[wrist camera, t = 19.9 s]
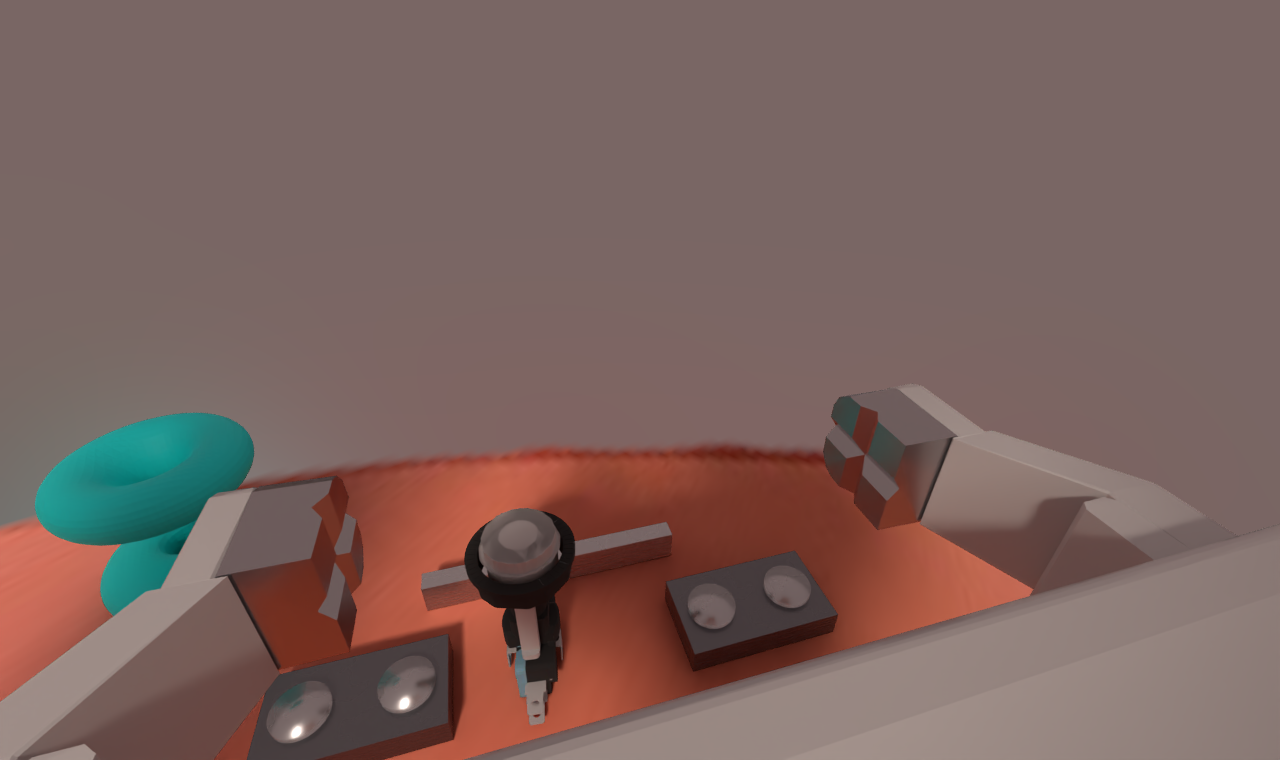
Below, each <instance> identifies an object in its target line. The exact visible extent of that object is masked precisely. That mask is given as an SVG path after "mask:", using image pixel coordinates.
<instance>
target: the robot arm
mask: <svg viewBox="0 0 1280 760" xmlns="http://www.w3.org/2000/svg"><path fill="white" fill-rule="evenodd" d="M831 417H832V419H833V421H834V423H835V424H836V426H835V427H834V428H833V429H832V430H831V432H830V433H829V434H828V435H827V436H826V441H825V445H824V450H823V453H824V459H825V464H826V468H827V470H828V472H829V474H830V476H831V477H832V478H833V480H834V481H835V482H836V483H837V484H838V486H840V487H842V488H844V489H846V490H848V491H850V492H852V493H854V504H855V505H856V506H857V507H858V509H859V510H860V511H861V512H862V513H863V514H864V515H865V516H866V518H867V519H868V520H869V521H870V522H871V523H872V524H873V526H874V527H875V528H876V529H877V530H880V529H885V528H890V527H895V526H900V525H905V524H910V523H915V522H920V521H921V522H920V524H921V525H922V526H924V527H926V528H928V529H929V530H931V531H933V532H935V533H936V534H938V535H940V536H942V537H943V538H945V539H947V540H949V541H950V542H952V543H954V544H956V545H957V546H959V547H961V548H963V549H964V550H966V551H968V552H969V553H971V554H973V555H975V556H976V557H978V558H980V559H982V560H983V561H985V562H987V563H989V564H990V565H992V566H994V567H996V568H997V569H999V570H1001V571H1003V572H1004V573H1006V574H1008V575H1010V576H1011V577H1013V578H1015V579H1017V580H1018V581H1020V582H1022V583H1023V584H1025V585H1027V586H1029V587H1030V588H1032V589H1033V591H1032V593H1031V595H1030V596H1029V597H1025V598H1022V599H1018V600H1015V601H1012V602H1008V603H1005V604H1001V605H998V606H994V607H991V608H987V609H984V610H980V611H977V612H973V613H970V614H967V615H963V616H960V617H956V618H953V619H949V620H946V621H942V622H939V623H935V624H932V625H928V626H925V627H922V628H918V629H915V630H911V631H908V632H904V633H901V634H897V635H894V636H890V637H887V638H884V639H880V640H877V641H873V642H870V643H866V644H863V645H859V646H856V647H852V648H849V649H846V650H842V651H839V652H835V653H832V654H828V655H825V656H821V657H818V658H814V659H811V660H808V661H804V662H801V663H797V664H794V665H790V666H787V667H783V668H780V669H776V670H773V671H770V672H766V673H763V674H759V675H756V676H752V677H749V678H745V679H742V680H738V681H735V682H732V683H728V684H725V685H721V686H718V687H714V688H711V689H707V690H704V691H700V692H697V693H693V694H690V695H686V696H683V697H680V698H676V699H673V700H669V701H666V702H662V703H659V704H655V705H652V706H648V707H645V708H641V709H638V710H634V711H631V712H627V713H624V714H620V715H617V716H614V717H610V718H607V719H603V720H600V721H596V722H593V723H589V724H586V725H582V726H579V727H575V728H572V729H568V730H565V731H561V732H558V733H554V734H551V735H548V736H544V737H541V738H537V739H534V740H530V741H527V742H523V743H520V744H516V745H513V746H509V747H506V748H502V749H499V750H495V751H492V752H488V753H485V754H482V755H478V756H475V757H471V758H468V759H464V760H1280V524H1278V525H1274V526H1271V527H1267V528H1264V529H1260V530H1257V531H1254V532H1250V533H1247V534H1243V535H1240V536H1237V535H1236V534H1234V533H1233V532H1231V531H1229V530H1228V529H1226V528H1225V527H1223V526H1222V525H1220V524H1218V523H1217V522H1215V521H1214V520H1212V519H1210V518H1209V517H1207V516H1205V515H1204V514H1202V513H1201V512H1199V511H1198V510H1196V509H1194V508H1193V507H1191V506H1190V505H1188V504H1186V503H1185V502H1183V501H1182V500H1180V499H1179V498H1177V497H1175V496H1174V495H1172V494H1171V493H1169V492H1168V491H1166V490H1164V489H1163V488H1161V487H1160V486H1158V485H1157V484H1155V483H1152V482H1149V481H1146V480H1143V479H1140V478H1137V477H1134V476H1131V475H1128V474H1124V473H1121V472H1118V471H1115V470H1112V469H1109V468H1106V467H1103V466H1100V465H1097V464H1094V463H1090V462H1087V461H1084V460H1081V459H1078V458H1075V457H1072V456H1069V455H1066V454H1063V453H1060V452H1057V451H1054V450H1051V449H1047V448H1044V447H1041V446H1038V445H1035V444H1032V443H1029V442H1026V441H1023V440H1020V439H1017V438H1014V437H1011V436H1007V435H1004V434H1001V433H998V432H995V431H988V432H985V431H983V430H982V429H981V428H979V427H978V426H977V425H975V424H974V423H972V422H971V421H969V420H968V419H967V418H966V417H964V416H963V415H961V414H960V413H959V412H957V411H956V410H954V409H953V408H952V407H950V406H949V405H948V404H946V403H945V402H943V401H942V400H941V399H939V398H938V397H936V396H935V395H934V394H932V393H931V392H930V391H928V390H927V389H926V388H924V387H923V386H920V385H915V384H908V385H903V386H897V387H892V388H888V389H887V390H880V391H874V392H868V393H861V394H855V395H849V396H843V397H839V399H838V400H837V402H836V403H835V404H834V407H833V410H832V414H831ZM348 498H349V496H348V494H347V491H346V489H345V486H344V483H343V481H342V479H340V478H339V477H338V476H332V477H325V478H317V479H310V480H303V481H296V482H288V483H281V484H274V485H266V486H259V487H258V488H247V489H240V490H234V491H227V492H220V493H217V494H215V495H214V496H212V497H210V498H209V499H208V501H207V502H206V504H205V506H204V508H203V510H202V512H201V513H200V515H199V517H198V519H197V521H196V523H195V525H194V527H193V528H192V530H191V532H190V534H189V536H188V538H187V540H186V542H185V543H184V545H183V547H182V549H181V551H180V553H179V555H178V557H177V559H176V560H175V562H174V564H173V566H172V568H171V570H170V572H169V574H168V575H167V577H166V579H165V581H164V583H163V585H162V587H161V589H156V590H151V591H146V592H145V593H143V594H142V595H141V596H140V597H138V598H137V599H136V600H134V601H133V602H132V603H130V604H129V605H128V606H126V607H125V608H124V609H122V610H121V611H120V612H118V613H117V614H116V615H114V616H113V617H112V618H110V619H109V620H108V621H106V622H105V623H104V624H103V625H101V626H100V627H99V628H97V629H96V630H95V631H93V632H92V633H91V634H89V635H88V636H87V637H85V638H84V639H83V640H81V641H80V642H79V643H77V644H76V645H75V646H73V647H72V648H71V649H69V650H68V651H67V652H66V653H64V654H63V655H62V656H60V657H59V658H58V659H56V660H55V661H54V662H52V663H51V664H50V665H48V666H47V667H46V668H44V669H43V670H42V671H40V672H39V673H38V674H36V675H35V676H34V677H33V678H31V679H30V680H29V681H27V682H26V683H25V684H23V685H22V686H21V687H19V688H18V689H17V690H15V691H14V692H13V693H11V694H10V695H9V696H7V697H6V698H5V699H3V700H2V701H1V702H0V760H214V758H215V757H216V756H217V754H218V753H219V752H220V751H221V749H222V748H223V747H224V745H225V744H226V743H227V741H228V740H229V739H230V738H231V736H232V735H233V734H234V732H235V731H236V730H237V728H238V727H239V726H240V725H241V723H242V722H243V721H244V719H245V718H246V717H247V716H248V714H249V713H250V712H251V710H252V709H253V708H254V706H255V705H256V704H257V703H258V701H259V700H260V699H261V697H262V696H263V695H264V693H265V692H266V691H267V690H268V688H269V687H270V686H271V684H272V683H273V682H274V680H275V679H276V678H277V677H278V675H279V674H280V673H279V671H278V670H281V669H285V668H289V667H293V666H297V665H301V664H304V663H308V662H312V661H316V660H320V659H324V658H328V657H332V656H336V655H340V654H343V653H347V652H350V648H351V642H352V636H353V630H354V624H355V618H356V612H357V609H356V606H355V603H354V600H353V598H352V595H351V594H352V593H353V592H354V591H355V590H356V589H357V588H358V587H359V585H360V584H361V581H362V574H363V567H364V566H363V544H362V538H361V533H360V529H359V526H358V523H357V520H356V519H354V518H353V517H351V516H349V515H348V514H346V508H347V503H348Z"/></svg>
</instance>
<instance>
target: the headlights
mask: <svg viewBox="0 0 1280 760" xmlns="http://www.w3.org/2000/svg"><path fill="white" fill-rule="evenodd" d="M671 547H672V533H671V531H670V529H669V526H668V524H667V522H664V523H659V524H654V525H650V526H645V527H640V528H636V529H631V530H626V531H622V532H617V533H612V534H607V535H603V536H598V537H593V538H589V539H584V540H579V541H575V557H574V561H573V564H572V567H571V572H570V577H569V578H573V577H577V576H582V575H586V574H591V573H595V572H599V571H604V570H608V569H612V568H617V567H621V566H626V565H630V564H634V563H639V562H643V561H647V560H652V559H656V558H661V557H665V556H669V555H671ZM561 555H562V553H561V552H560V550H559V551H558V559H560V557H561ZM482 572H483V573H484V574H485V575H486V576H487V577H488V573H487V569H486V568H485V567H483V569H482ZM421 591H422V594H423V597H424V601H425V604H426V607H427V611H429V610H433V609H437V608H442V607H446V606H451V605H455V604H459V603H464V602H468V601H472V600H477V599H481V597H480V594H479V590H478V589H477V588H476V587H475V586H474V585H473V584H472V583H471V581H470V580H469V578H468V575H467V572H466V568H465V565H462V566H457V567H452V568H448V569H443V570H438V571H434V572H429V573H424V574H422V584H421ZM665 599H666V602H667V604H668V607H669V610H670V612H671V615H672V617H673V620H674V623H675V625H676V628H677V630H678V633H679V636H680V638H681V641H682V643H683V646H684V649H685V651H686V654H687V656H688V659H689V662H690V664H691V667H692V669H693V671H696V670H699V669H703V668H706V667H710V666H713V665H717V664H720V663H724V662H727V661H731V660H734V659H738V658H742V657H745V656H749V655H752V654H756V653H759V652H763V651H766V650H770V649H773V648H777V647H780V646H784V645H787V644H791V643H794V642H798V641H801V640H805V639H808V638H812V637H815V636H819V635H822V634H826V633H829V632H833V629H834V626H835V623H836V620H837V616H838V614H837V612H836V611H835V610H834V608H833V607H832V605H831V604H830V602H829V601H828V599H827V598H826V596H825V595H824V593H823V592H822V590H821V589H820V587H819V586H818V584H817V583H816V581H815V580H814V578H813V577H812V575H811V574H810V572H809V571H808V569H807V568H806V566H805V565H804V564H803V562H802V561H801V559H800V558H799V556H798V555H797V553H796V552H795V551H791V552H787V553H783V554H779V555H775V556H771V557H767V558H762V559H758V560H754V561H750V562H746V563H742V564H737V565H733V566H729V567H725V568H721V569H717V570H712V571H708V572H704V573H700V574H696V575H692V576H687V577H683V578H679V579H675V580H671V581H667V582H666V591H665ZM450 740H453V649H452V646H451V642H450V639H449V635H448V634H446V635H442V636H438V637H434V638H429V639H425V640H421V641H417V642H413V643H409V644H404V645H400V646H396V647H392V648H388V649H384V650H379V651H375V652H371V653H367V654H363V655H359V656H354V657H350V658H346V659H342V660H338V661H334V662H330V663H325V664H321V665H317V666H313V667H309V668H305V669H300V670H296V671H292V672H288V673H284V674H280V675H278V677H277V678H276V679H275V680H274V682H273V683H272V684H271V686H270V687H269V688H268V690H267V691H266V693H265V696H264V700H263V703H262V707H261V710H260V714H259V718H258V721H257V725H256V728H255V732H254V735H253V739H252V742H251V746H250V750H249V753H248V757H247V760H384V759H387V758H391V757H394V756H398V755H401V754H405V753H408V752H412V751H415V750H419V749H422V748H426V747H429V746H433V745H436V744H440V743H443V742H447V741H450Z"/></svg>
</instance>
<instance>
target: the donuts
mask: <svg viewBox="0 0 1280 760" xmlns="http://www.w3.org/2000/svg"><path fill="white" fill-rule="evenodd" d="M253 457H254V447H253V442H252V439H251V437H250V435H249V434H248V432H247V431H246V430H245V429H244V428H243V427H242V426H241V425H240V424H238V423H237V422H234V421H232V420H231V419H229V418H226V417H223V416H219V415H215V414H208V413H181V414H173V415H166V416H161V417H156V418H152V419H148V420H144V421H141V422H137V423H134V424H131V425H128V426H125V427H122V428H120V429H117V430H114V431H112V432H110V433H107V434H105V435H103V436H102V437H99V438H97V439H95V440H93V441H91V442H89V443H87V444H86V445H84V446H82V447H81V448H79V449H77V450H76V451H74V452H73V453H71V454H70V455H69V456H67V457H66V458H65V459H63V460H62V461H61V462H60V463H59V464H57V465H56V466H55V467H54V468H53V469H52V471H51V472H50V473H49V474H48V475H47V476H46V478H45V479H44V481H43V482H42V484H41V485H40V487H39V489H38V492H37V496H36V500H35V510H36V514H37V517H38V519H39V521H40V522H41V524H42V525H43V527H44V528H45V529H46V530H48V531H49V532H51V533H52V534H54V535H55V536H57V537H59V538H61V539H64V540H67V541H70V542H74V543H79V544H86V545H101V546H102V545H117V544H121V545H120V546H119V548H118V549H117V550H116V551H115V552H114V554H113V555H112V557H111V558H110V560H109V561H108V563H107V565H106V568H105V570H104V572H103V575H102V579H101V587H100V592H101V597H102V600H103V603H104V605H105V607H106V608H107V610H108V611H109V612H110V613H111V614H112V615H113V616H114V615H116V614H117V613H118V612H120V611H121V610H122V609H124V608H125V607H126V606H128V605H129V604H130V603H132V602H133V601H134V600H136V599H137V598H138V597H140V596H141V595H142V594H143V593H145V592H146V591H151V590H156V589H161V587H162V585H163V583H164V581H165V579H166V577H167V575H168V574H169V572H170V570H171V568H172V566H173V564H174V562H175V560H176V559H177V557H178V555H179V553H180V551H181V549H182V547H183V545H184V543H185V542H186V540H187V538H188V536H189V534H190V532H191V530H192V528H193V527H194V525H195V523H196V521H197V519H198V517H199V515H200V513H201V512H202V510H203V508H204V506H205V504H206V502H207V501H208V499H209V498H210V497H212V496H214V495H215V494H217V493H220V492H227V491H234V490H236V489H237V488H238V487H239V486H240V485H241V483H242V482H243V481H244V479H245V478H246V476H247V474H248V472H249V470H250V468H251V466H252V462H253Z"/></svg>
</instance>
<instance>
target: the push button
mask: <svg viewBox="0 0 1280 760" xmlns="http://www.w3.org/2000/svg"><path fill="white" fill-rule="evenodd" d="M559 550H560V552H561V553H562V555H561V557H560V559H558V551H559ZM574 557H575V540H574V536H573V533H572V531H571V529H570V528H569V526H568V525H567V524H566V523H565V522H564V521H563V520H562V519H560V518H559V517H557V516H555V515H553V514H550V513H547V512H543V511H538V510H534V509H529V508H519V509H513V510H510V511H507V512H505V513H501V514H500V515H498V516H496V517H495V518H494V519H493V520H491V521H489V522H488V523H486V524H485V525H484V526H483V527H481V528H480V529H479V530H478V531H477V532H476V533H475V534H474V536H473V537H472V539H471V540H470V542H469V544H468V546H467V548H466V552H465V558H464V561H465V568H466V572H467V575H468V578H469V580H470V581H471V583H472V584H473V585H474V586H475V587H476V588H477V589H478V590H479V594H480V597H481V598H482V599H483V600H485V601H486V602H488V603H489V604H491V605H492V606H494V607H496V608H507V609H506V610H505V612H504V615H503V619H502V627H503V632H504V637H505V641H506V644H507V658H508V663H509V667H511V658H512V653H516V659H515V675H516V679H517V682H518V688H519V693H520V697H527V704H528V705H527V714H528V715H529V724H530V725H536V724H542V723H544V722H545V702H547V694H548V693H552V682H557V681H558V672H557V657H556V647H560V651H561V660H563V647H562V636H561V629H560V617H559V609H558V606H557V604H556V603H555V596H554V595H555V594H556V592H557V591H558V590H559V589H560V588H561V587H562V586H563V585H564V584H565V583H566V582H567V581H568V579H569V577H570V572H571V567H572V564H573V561H574ZM483 567H485V568H486V569H487V573H488V577H487V576H486V575H485V574H484V573H483V572H482V569H483ZM537 714H541V715H540V716H539V717H537V718H535V717H534V716H533V715H537Z"/></svg>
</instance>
